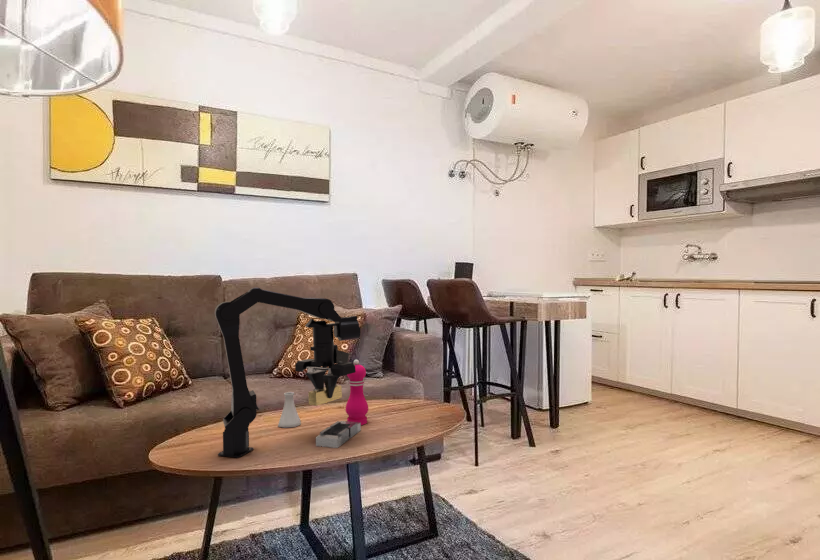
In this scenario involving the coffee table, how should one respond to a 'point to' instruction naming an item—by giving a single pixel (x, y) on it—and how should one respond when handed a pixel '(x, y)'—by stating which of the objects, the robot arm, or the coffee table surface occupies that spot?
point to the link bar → (323, 395)
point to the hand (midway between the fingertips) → (325, 397)
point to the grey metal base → (337, 434)
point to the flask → (289, 412)
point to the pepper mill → (357, 396)
